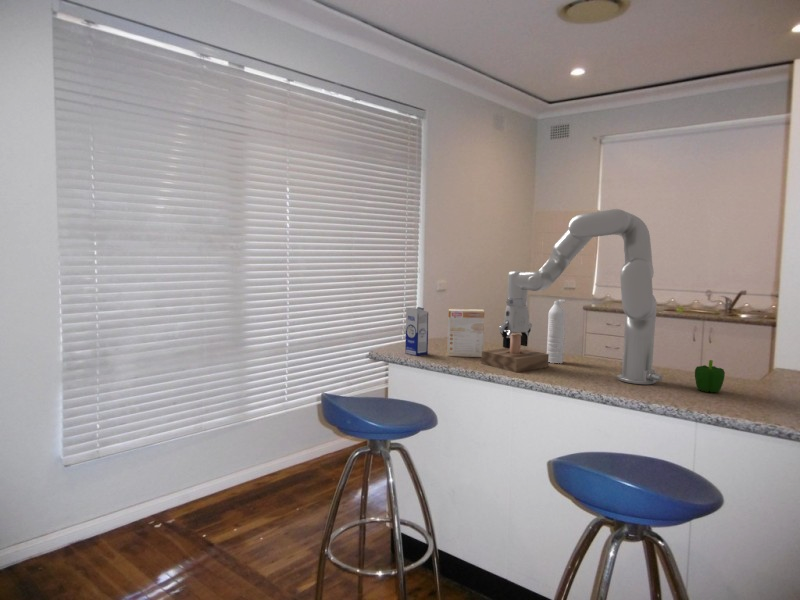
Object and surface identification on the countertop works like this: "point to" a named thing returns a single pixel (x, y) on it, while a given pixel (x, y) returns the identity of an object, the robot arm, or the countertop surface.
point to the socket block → (514, 359)
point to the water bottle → (556, 333)
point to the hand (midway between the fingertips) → (515, 346)
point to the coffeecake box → (465, 332)
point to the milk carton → (416, 331)
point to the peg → (515, 343)
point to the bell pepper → (709, 378)
